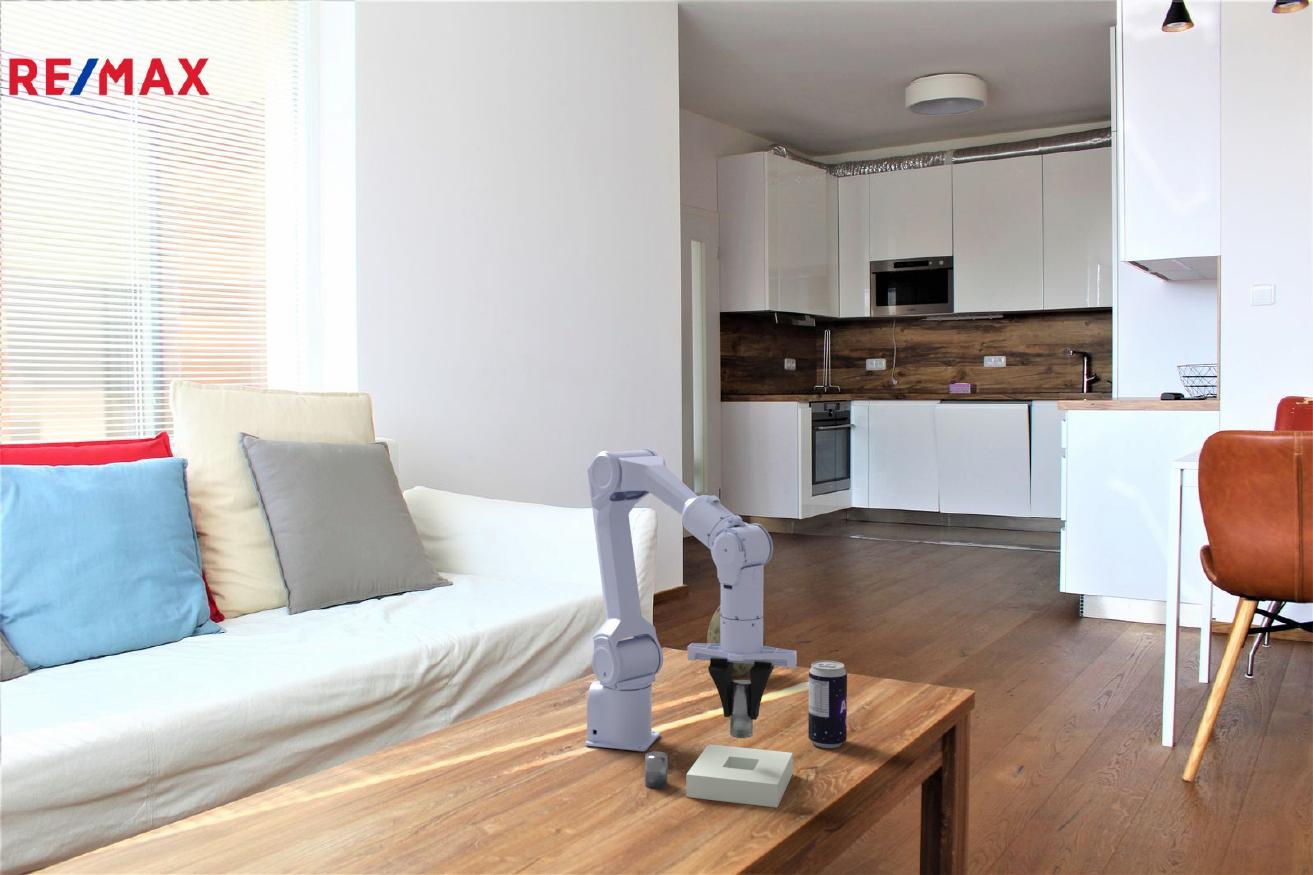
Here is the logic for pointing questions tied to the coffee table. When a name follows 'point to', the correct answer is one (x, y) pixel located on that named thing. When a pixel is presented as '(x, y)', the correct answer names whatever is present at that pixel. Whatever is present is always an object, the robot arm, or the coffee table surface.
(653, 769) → the short pin
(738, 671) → the decorative egg
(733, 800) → the hole block
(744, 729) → the long pin
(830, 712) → the beverage can
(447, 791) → the coffee table surface
